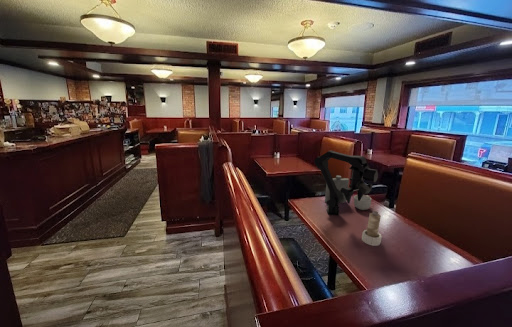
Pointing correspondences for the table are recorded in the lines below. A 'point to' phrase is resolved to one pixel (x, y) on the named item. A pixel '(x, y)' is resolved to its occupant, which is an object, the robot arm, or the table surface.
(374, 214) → the pepper mill
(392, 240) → the table surface
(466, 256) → the table surface
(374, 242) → the socket
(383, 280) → the table surface
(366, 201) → the teacup
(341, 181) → the hip flask
